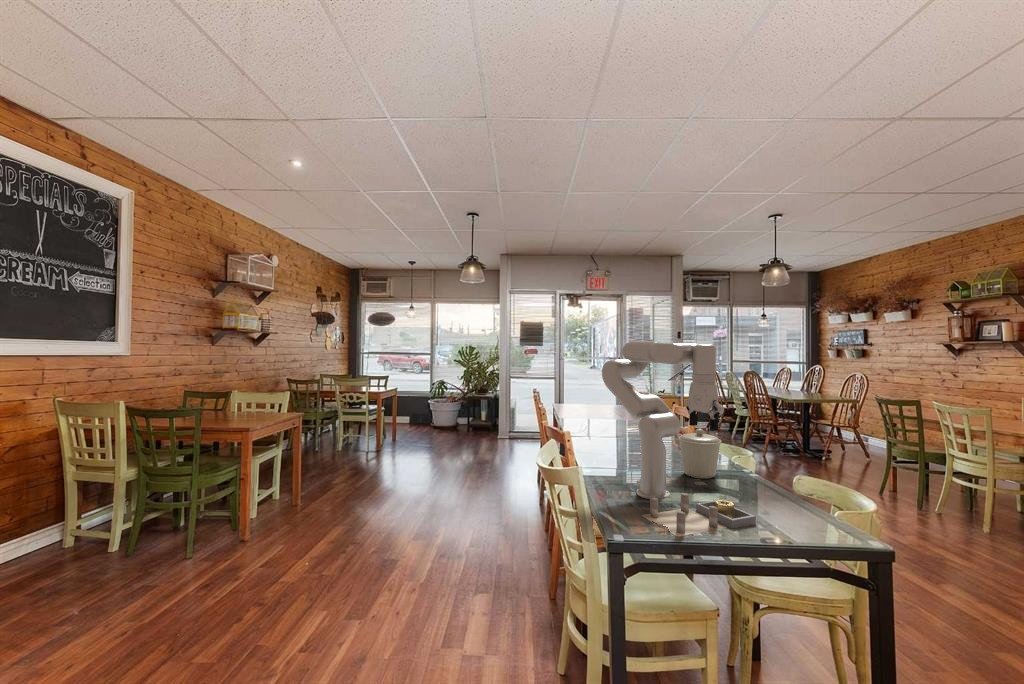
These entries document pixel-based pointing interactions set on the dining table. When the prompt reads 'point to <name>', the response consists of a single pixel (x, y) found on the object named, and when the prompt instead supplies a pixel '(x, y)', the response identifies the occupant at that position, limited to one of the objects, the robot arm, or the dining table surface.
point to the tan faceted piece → (725, 508)
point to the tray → (741, 521)
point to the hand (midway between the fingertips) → (703, 427)
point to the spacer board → (689, 522)
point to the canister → (699, 454)
